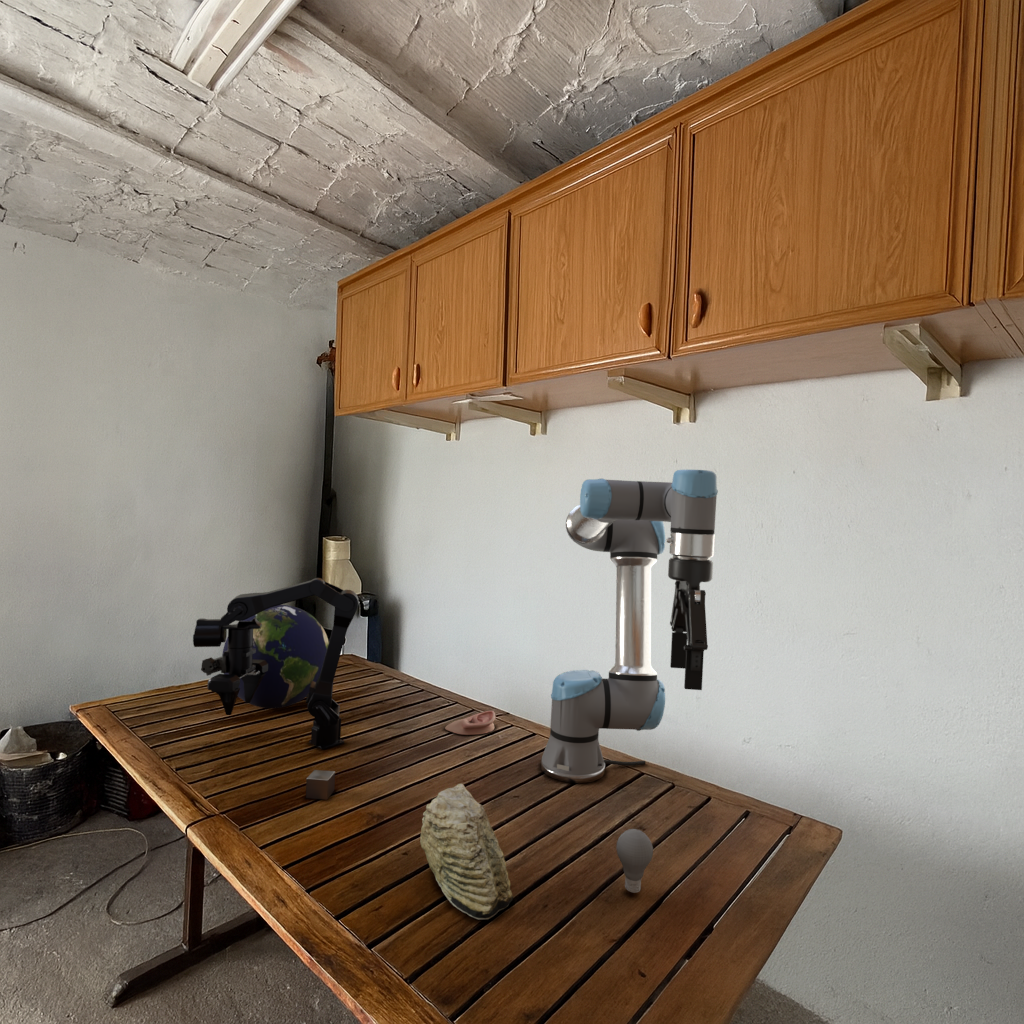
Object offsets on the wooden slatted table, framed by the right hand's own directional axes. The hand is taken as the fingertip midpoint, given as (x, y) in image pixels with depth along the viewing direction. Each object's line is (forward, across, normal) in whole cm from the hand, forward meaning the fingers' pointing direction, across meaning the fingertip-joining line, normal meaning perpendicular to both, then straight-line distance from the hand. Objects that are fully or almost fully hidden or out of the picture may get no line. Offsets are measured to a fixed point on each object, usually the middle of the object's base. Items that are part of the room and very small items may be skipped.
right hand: (685, 677), depth 112 cm
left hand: (+25, -37, -101) cm, 110 cm away
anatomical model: (+34, -61, -46) cm, 84 cm away
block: (+34, -17, -72) cm, 81 cm away
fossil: (+34, +11, -36) cm, 51 cm away
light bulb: (+34, +7, -8) cm, 36 cm away
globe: (+34, -68, -105) cm, 130 cm away
